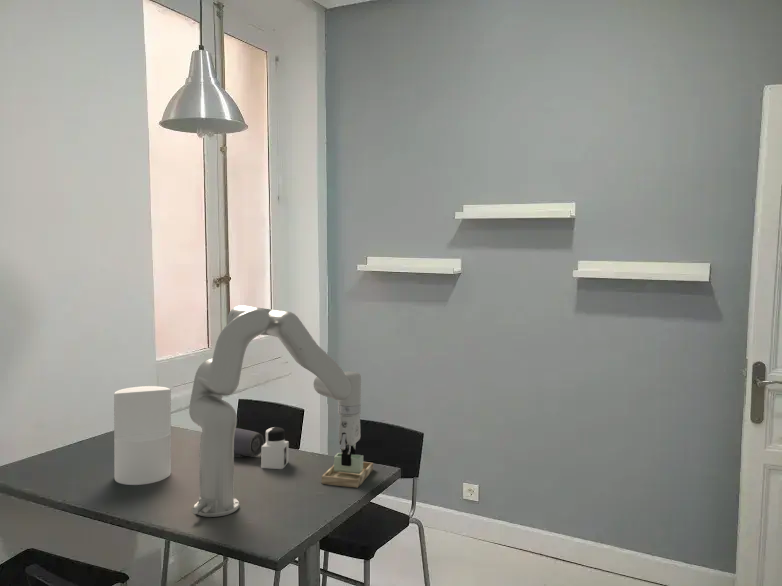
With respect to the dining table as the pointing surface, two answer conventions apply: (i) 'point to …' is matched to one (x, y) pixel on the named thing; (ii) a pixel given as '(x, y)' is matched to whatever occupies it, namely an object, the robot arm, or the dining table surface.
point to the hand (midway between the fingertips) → (348, 462)
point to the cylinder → (142, 435)
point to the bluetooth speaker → (247, 443)
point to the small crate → (354, 468)
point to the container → (275, 449)
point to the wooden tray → (347, 476)
